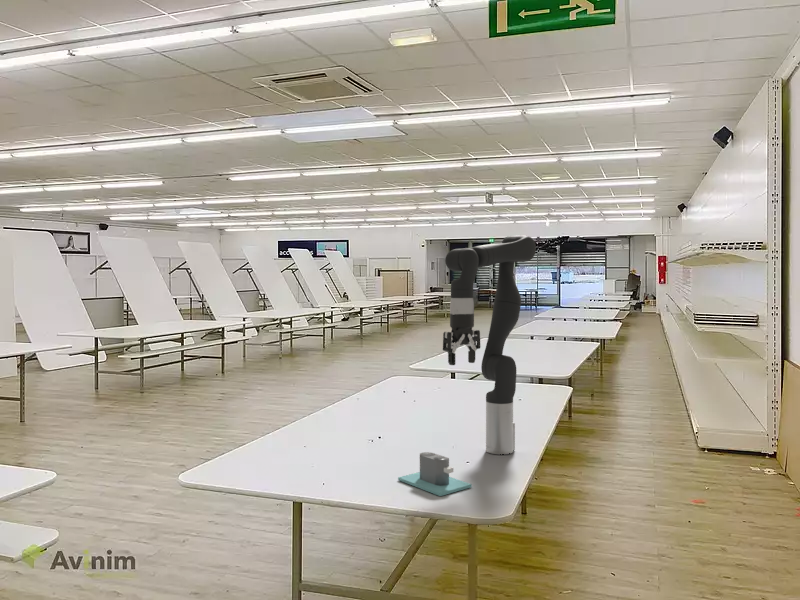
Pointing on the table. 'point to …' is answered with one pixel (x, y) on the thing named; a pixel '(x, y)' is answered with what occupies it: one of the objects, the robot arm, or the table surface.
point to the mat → (435, 489)
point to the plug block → (434, 468)
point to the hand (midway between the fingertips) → (461, 363)
